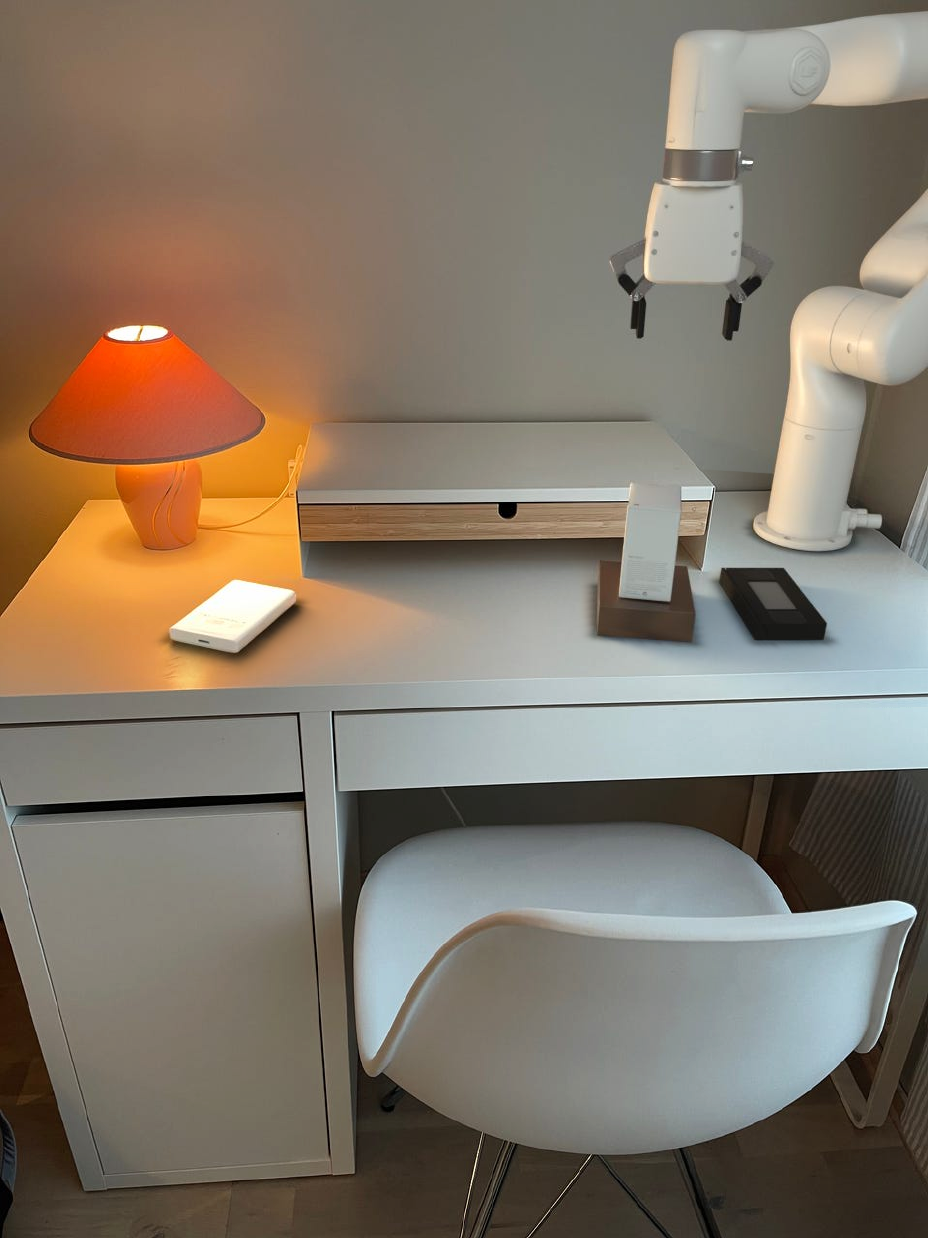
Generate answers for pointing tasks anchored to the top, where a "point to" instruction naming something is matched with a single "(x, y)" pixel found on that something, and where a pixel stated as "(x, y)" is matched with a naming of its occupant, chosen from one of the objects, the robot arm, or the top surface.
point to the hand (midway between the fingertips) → (682, 336)
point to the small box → (650, 541)
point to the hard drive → (233, 616)
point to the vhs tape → (772, 604)
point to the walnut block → (644, 608)
